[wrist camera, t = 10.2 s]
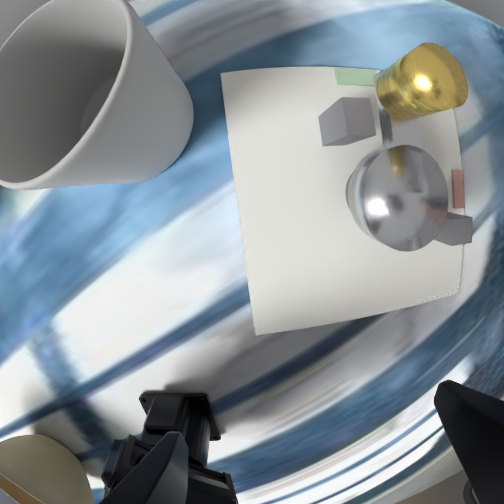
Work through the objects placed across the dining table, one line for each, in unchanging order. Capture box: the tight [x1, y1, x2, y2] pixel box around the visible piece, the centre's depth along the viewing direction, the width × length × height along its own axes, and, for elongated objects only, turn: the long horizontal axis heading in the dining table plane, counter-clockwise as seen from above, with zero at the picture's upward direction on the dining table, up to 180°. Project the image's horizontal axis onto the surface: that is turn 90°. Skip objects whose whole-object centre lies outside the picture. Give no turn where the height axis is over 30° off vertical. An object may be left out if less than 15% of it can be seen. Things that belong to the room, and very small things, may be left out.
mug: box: [0, 0, 194, 190], centre depth 11 cm, size 12×8×11 cm
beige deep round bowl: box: [0, 434, 94, 504], centre depth 20 cm, size 18×18×12 cm
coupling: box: [348, 43, 468, 252], centre depth 11 cm, size 10×6×6 cm, turn 5°
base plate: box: [220, 67, 472, 335], centre depth 16 cm, size 18×18×5 cm
